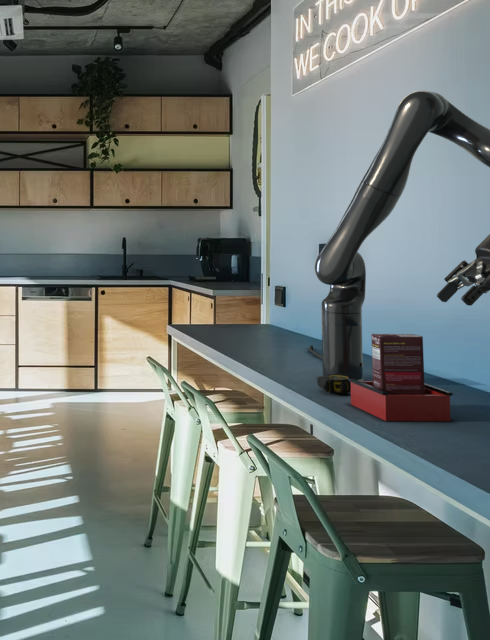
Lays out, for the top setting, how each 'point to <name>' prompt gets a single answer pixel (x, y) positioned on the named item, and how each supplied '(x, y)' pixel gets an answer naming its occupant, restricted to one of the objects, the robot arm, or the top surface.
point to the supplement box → (398, 363)
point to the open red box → (401, 403)
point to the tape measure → (334, 383)
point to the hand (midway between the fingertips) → (452, 300)
